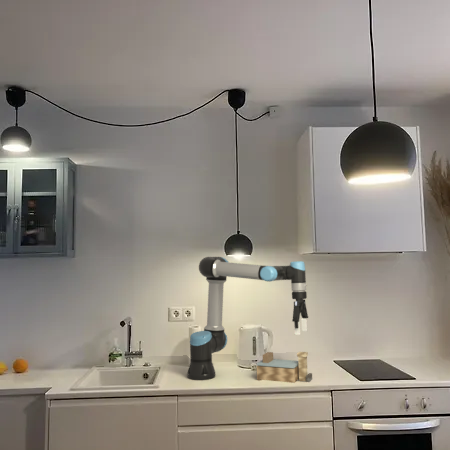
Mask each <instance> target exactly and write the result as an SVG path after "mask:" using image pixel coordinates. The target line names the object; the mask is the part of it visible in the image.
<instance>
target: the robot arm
mask: <svg viewBox="0 0 450 450" xmlns="http://www.w3.org/2000/svg"><path fill="white" fill-rule="evenodd" d="M198 271H199V273H200V274H201V275H202V276H203V277H205V278H206V279H205V280H206V282H208V291H207V312H206V314H207V315H206V316H207V317H206V325H205V326H204V327H203V330H199V331H195V332H193V333H191V335H190V336H189V337H190V338H189V354H190V355H189V356H190V360H189V361H190V362H189V366H188V371H187V373H186V374H187V378H188V379H189V380H192V381H193V380H194V381H203V380H206V381H207V380H211V379H214V378H215V377H216V370H215V367H214V363H213V354H215V353H218V352H220V351H222V350H224V348H225V347H226V346H227V345H228V337H227V336H228V335H227V333H226V332H225V328H224V326H223V312H224V309H223V307H224V306H223V305H224V304H223V303H224V284H225V283H226V282H227V279H228V278H236V279H237V278H239V279H249V280H255V281H256V280H257V281H265V282H274V281H276V282H277V281H290V284H291V285H290V286H291V288H290V289H291V298H292V300H295V301H293V310H292V312H293V313H292V321H291V322H293V324H294V325H293V326H294V335H296V336H300V335H301V331H302V332H308V321H307V320H308V319H309V315H308V310H307V304H306V299H308V298H307V297H308V296H307V295H308V294H307V293H308V292H307V291H306V290H307V287H308V284H307V279H306V264H305V262H304V261H301V260H300V261H291V262H290V264H289V265H261V264H260V265H259V264H249V263H240V262H239V263H238V262H229V261H228V259H226V258H225V257H222V256H206V257H203V258H202V259H201V260H200V261H199V263H198ZM227 277H228V278H227ZM300 316H301V317H300ZM300 318H301V320H300Z"/></svg>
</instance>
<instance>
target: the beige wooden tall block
mask: <svg viewBox="0 0 450 450" xmlns="http://www.w3.org/2000/svg"><path fill="white" fill-rule="evenodd" d="M296 356H297V361H298V363H299V381H298V382H300V381H306V375H307V374H309V372H308V356H309V352H308V351H298V352H297V353H296Z"/></svg>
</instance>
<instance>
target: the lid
mask: <svg viewBox="0 0 450 450" xmlns="http://www.w3.org/2000/svg"><path fill="white" fill-rule="evenodd" d="M298 365H299V363H298V360H292V359H279V358H274V352H273V351H267V352H265V353H263V354H262V360H260V361H258V362H257V363H256V366H271V367H284V368H295V367H296V366H298Z"/></svg>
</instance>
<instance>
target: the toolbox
mask: <svg viewBox="0 0 450 450" xmlns="http://www.w3.org/2000/svg"><path fill="white" fill-rule="evenodd" d="M256 380H257V381H271V382H281V383H291V384H292V383H293V384H295V383H296V382H300V383H301V382H303V383H310V382H311V381H312V380H313V373H312V372H308V374H307V375H306V381H299V365H298V366H296V367H295V368H284V367H271V366H258V365H256Z"/></svg>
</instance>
